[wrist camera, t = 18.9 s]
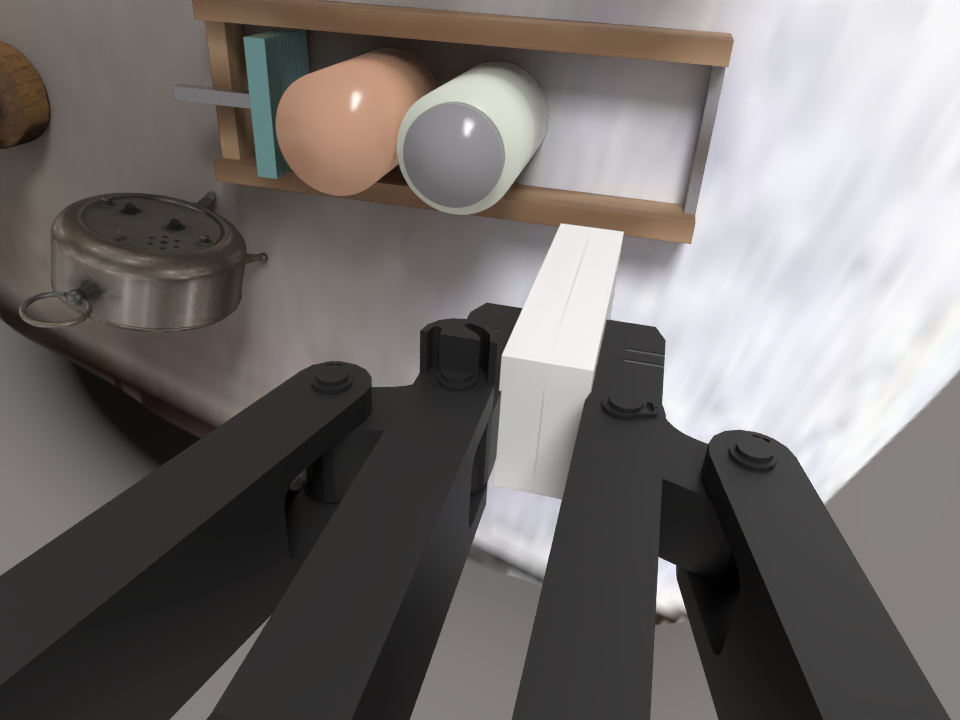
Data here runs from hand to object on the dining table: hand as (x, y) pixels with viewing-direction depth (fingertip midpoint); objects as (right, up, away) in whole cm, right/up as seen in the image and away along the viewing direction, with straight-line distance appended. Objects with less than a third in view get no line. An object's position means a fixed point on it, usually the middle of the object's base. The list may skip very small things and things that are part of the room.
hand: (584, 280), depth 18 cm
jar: (-2, +12, +25) cm, 28 cm away
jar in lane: (-8, +13, +26) cm, 30 cm away
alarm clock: (-21, +8, +33) cm, 40 cm away
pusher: (-16, +15, +27) cm, 35 cm away
